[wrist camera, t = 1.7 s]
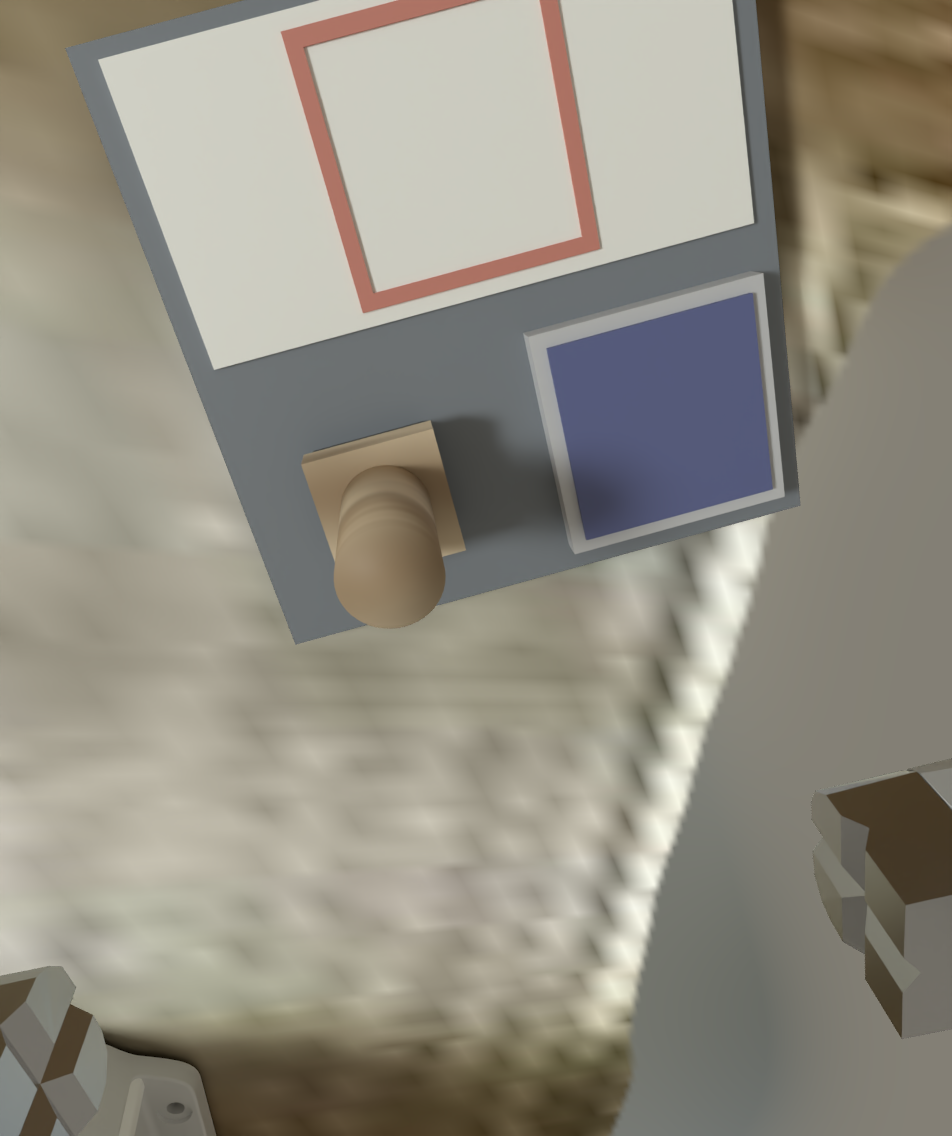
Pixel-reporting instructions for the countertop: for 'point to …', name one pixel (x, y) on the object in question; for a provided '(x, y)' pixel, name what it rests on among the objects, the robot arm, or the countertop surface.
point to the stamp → (386, 522)
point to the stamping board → (467, 263)
